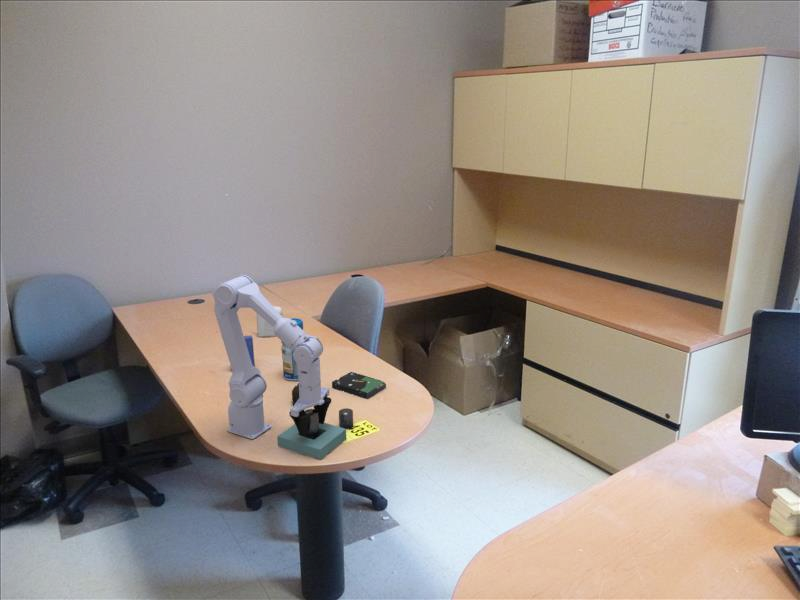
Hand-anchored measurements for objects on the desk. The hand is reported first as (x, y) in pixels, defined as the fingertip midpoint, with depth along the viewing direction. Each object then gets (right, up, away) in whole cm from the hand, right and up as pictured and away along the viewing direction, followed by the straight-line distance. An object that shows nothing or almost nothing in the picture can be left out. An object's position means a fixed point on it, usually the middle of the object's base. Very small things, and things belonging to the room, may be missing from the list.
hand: (311, 429), depth 158 cm
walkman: (-31, +10, +48) cm, 58 cm away
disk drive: (+10, +5, +34) cm, 36 cm away
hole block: (0, -4, +1) cm, 4 cm away
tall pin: (0, -4, +1) cm, 4 cm away
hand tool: (-7, +5, +30) cm, 31 cm away
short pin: (+8, -1, +10) cm, 13 cm away
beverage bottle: (-12, +9, +42) cm, 45 cm away
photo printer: (-29, +20, +81) cm, 88 cm away
